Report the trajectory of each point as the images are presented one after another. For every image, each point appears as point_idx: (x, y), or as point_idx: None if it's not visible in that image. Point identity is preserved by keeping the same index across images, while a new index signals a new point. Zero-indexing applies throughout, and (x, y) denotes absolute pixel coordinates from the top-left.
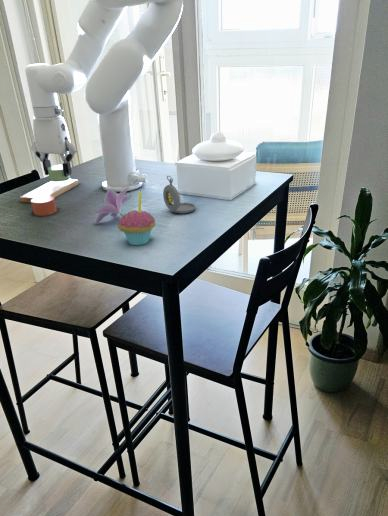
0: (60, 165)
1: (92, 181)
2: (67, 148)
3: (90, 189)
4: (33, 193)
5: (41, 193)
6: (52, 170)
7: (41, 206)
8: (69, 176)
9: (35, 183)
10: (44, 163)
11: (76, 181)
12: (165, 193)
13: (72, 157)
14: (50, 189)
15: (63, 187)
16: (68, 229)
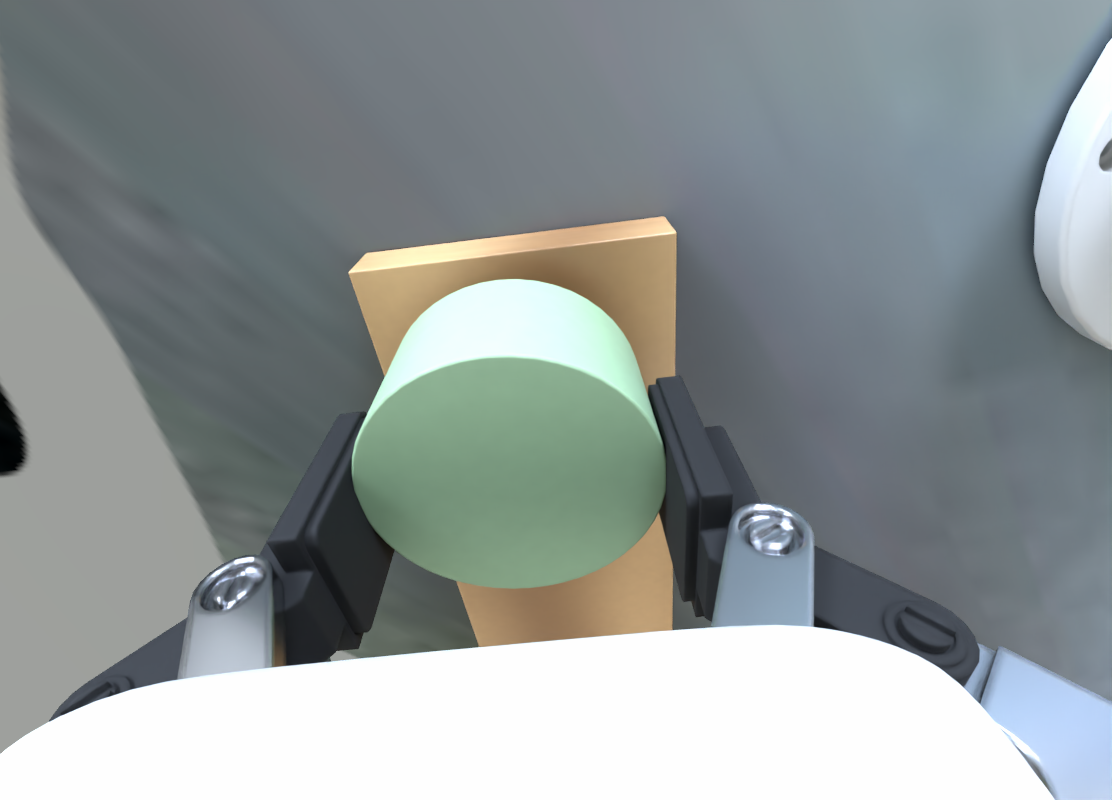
0: (476, 413)
1: (799, 21)
2: (780, 665)
3: (889, 334)
4: (529, 642)
5: (588, 629)
6: (535, 583)
7: None
8: (638, 368)
9: (149, 348)
10: (364, 627)
11: (672, 269)
12: None
13: (897, 600)
14: None
15: None
16: None
